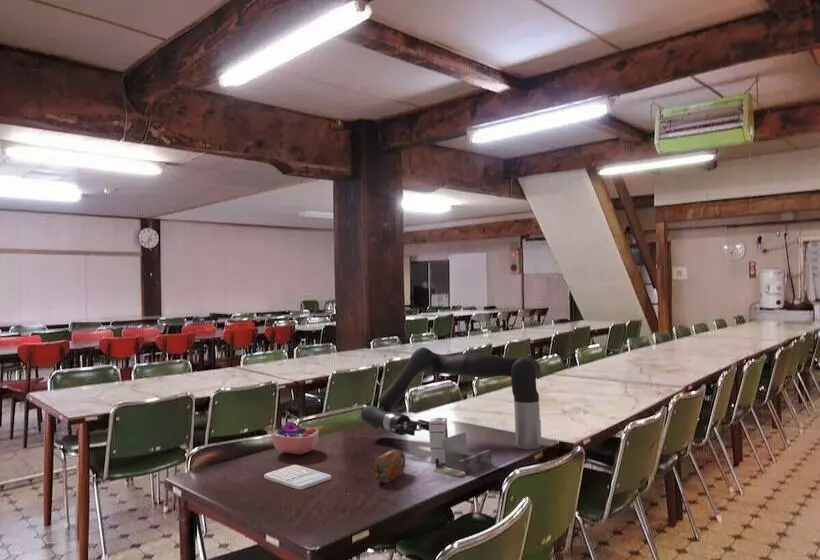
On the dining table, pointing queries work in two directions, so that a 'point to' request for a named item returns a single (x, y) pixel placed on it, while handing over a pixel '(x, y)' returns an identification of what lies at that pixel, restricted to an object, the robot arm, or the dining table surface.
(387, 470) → the tin
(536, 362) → the robot arm
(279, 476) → the calculator
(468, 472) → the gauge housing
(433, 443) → the syrup box
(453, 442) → the gauge paddle
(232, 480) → the dining table surface
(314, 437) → the cell model
